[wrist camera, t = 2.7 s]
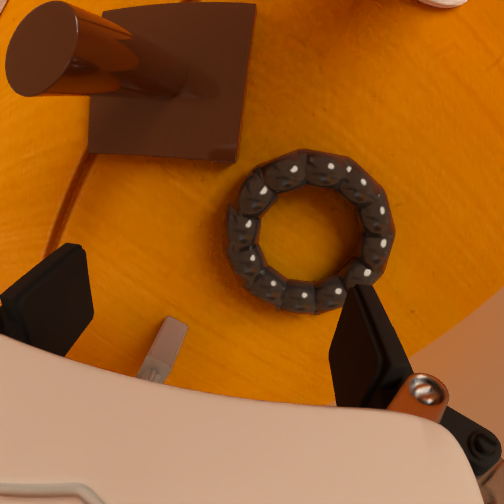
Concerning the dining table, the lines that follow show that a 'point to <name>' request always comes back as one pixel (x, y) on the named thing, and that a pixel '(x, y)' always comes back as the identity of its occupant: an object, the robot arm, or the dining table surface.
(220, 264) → the dining table surface
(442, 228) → the dining table surface
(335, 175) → the studded rubber donut
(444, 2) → the candle
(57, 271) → the robot arm
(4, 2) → the kettle
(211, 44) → the square plate with peg
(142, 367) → the lighter
